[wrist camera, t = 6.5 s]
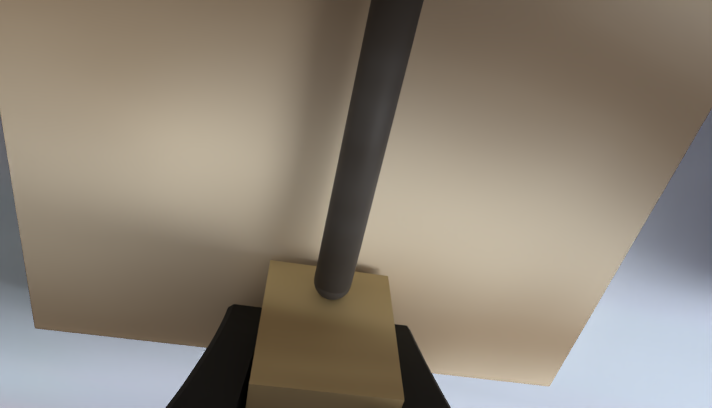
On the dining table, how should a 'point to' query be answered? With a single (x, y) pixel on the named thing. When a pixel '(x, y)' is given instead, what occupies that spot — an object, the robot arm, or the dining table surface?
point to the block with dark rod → (342, 258)
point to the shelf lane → (321, 153)
